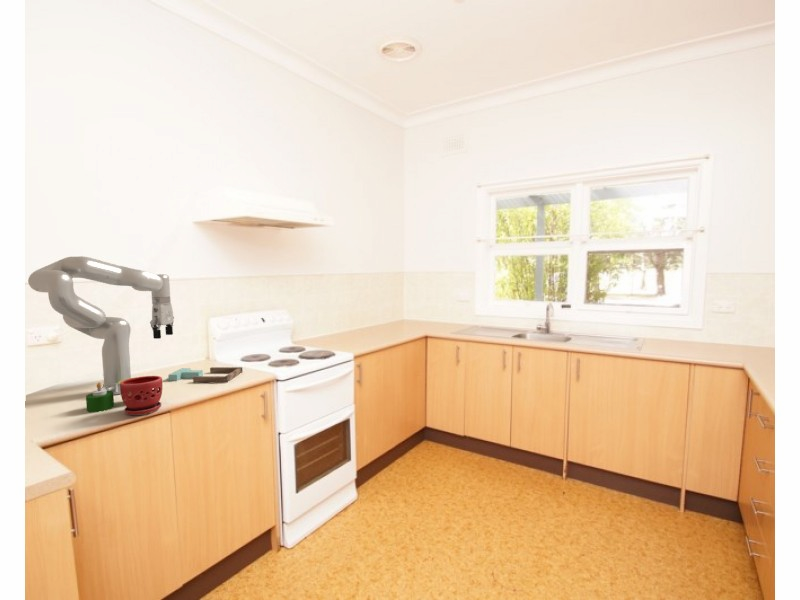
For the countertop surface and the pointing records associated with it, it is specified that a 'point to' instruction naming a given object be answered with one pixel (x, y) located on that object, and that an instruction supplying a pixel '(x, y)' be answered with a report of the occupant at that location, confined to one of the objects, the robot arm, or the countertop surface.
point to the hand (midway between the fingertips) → (163, 336)
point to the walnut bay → (232, 370)
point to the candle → (99, 400)
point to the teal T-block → (184, 374)
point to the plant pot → (141, 394)
